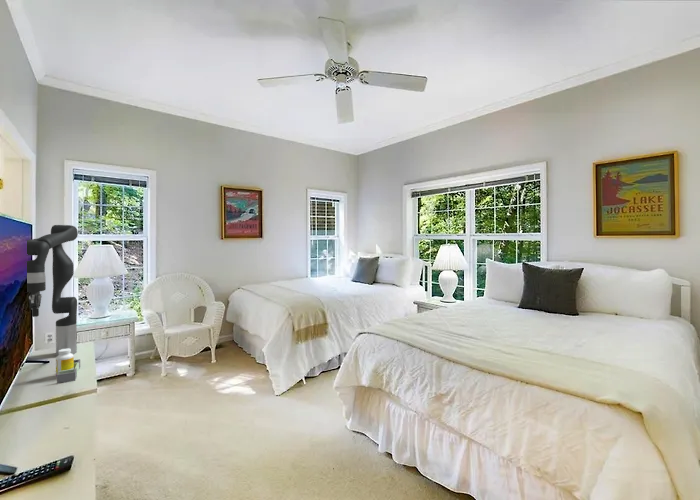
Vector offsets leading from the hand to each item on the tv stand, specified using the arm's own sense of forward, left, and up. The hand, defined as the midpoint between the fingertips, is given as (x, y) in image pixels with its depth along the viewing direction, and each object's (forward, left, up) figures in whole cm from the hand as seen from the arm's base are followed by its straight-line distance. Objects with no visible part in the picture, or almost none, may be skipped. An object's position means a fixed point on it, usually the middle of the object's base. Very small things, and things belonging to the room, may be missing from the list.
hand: (35, 316), depth 162 cm
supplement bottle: (+9, +12, -29) cm, 33 cm away
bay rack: (+9, +14, -29) cm, 33 cm away
